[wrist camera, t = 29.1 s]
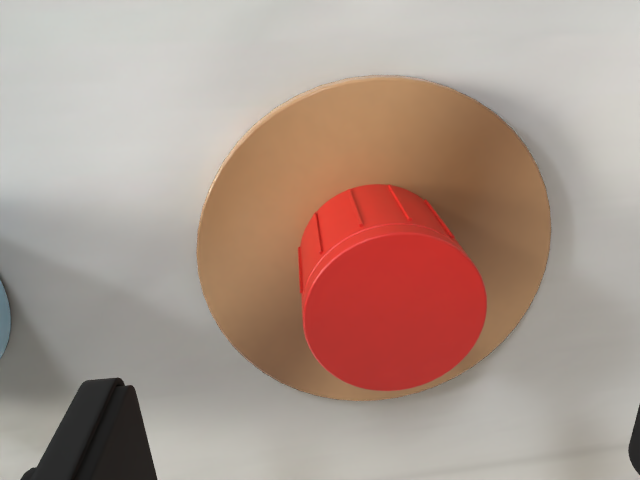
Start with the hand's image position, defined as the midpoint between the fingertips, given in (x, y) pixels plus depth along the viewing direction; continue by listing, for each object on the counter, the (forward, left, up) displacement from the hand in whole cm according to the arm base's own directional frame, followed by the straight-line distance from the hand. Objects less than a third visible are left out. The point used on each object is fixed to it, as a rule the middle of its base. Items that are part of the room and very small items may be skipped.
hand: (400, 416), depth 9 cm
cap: (0, +1, -6) cm, 6 cm away
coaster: (0, 0, -6) cm, 6 cm away
